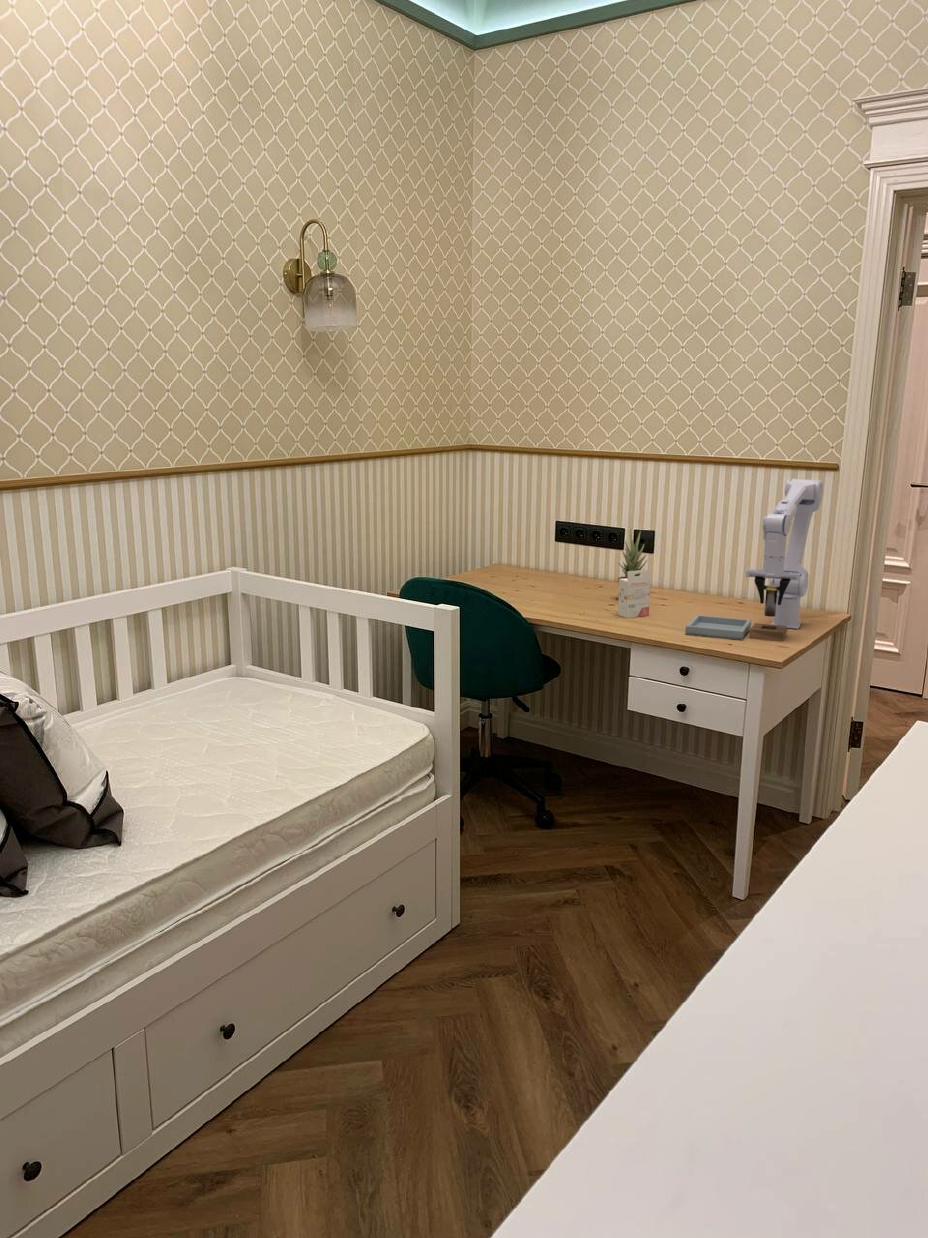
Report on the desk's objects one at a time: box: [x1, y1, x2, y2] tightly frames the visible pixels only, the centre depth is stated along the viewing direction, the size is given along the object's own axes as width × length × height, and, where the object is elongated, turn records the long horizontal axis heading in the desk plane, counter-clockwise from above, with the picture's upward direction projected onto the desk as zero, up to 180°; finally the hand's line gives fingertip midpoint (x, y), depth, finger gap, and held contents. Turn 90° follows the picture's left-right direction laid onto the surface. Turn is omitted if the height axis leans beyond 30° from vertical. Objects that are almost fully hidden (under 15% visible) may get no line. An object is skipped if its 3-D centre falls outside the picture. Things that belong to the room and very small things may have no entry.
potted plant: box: [616, 527, 648, 585], centre depth 324 cm, size 10×10×25 cm
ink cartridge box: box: [617, 569, 651, 619], centre depth 302 cm, size 9×5×15 cm, turn 114°
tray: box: [685, 614, 752, 641], centre depth 283 cm, size 16×16×2 cm
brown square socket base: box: [749, 622, 788, 642], centre depth 277 cm, size 9×9×2 cm
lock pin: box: [763, 584, 780, 618], centre depth 275 cm, size 4×4×8 cm
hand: (770, 603), depth 276 cm, fingers closed on lock pin, 4 cm apart
